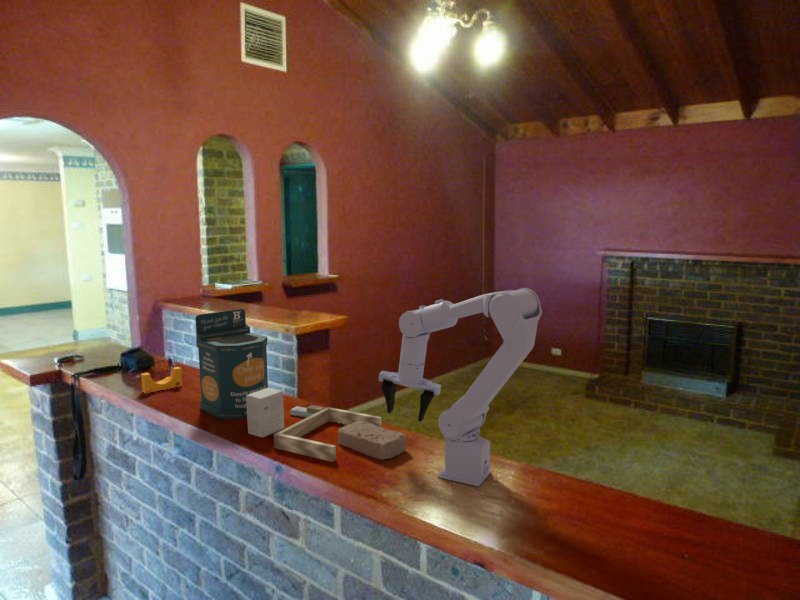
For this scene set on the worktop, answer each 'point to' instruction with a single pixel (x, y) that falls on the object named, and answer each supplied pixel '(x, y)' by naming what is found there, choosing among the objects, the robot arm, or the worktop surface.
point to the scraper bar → (305, 411)
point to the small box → (265, 412)
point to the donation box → (229, 363)
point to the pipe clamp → (162, 381)
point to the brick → (372, 440)
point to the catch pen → (291, 434)
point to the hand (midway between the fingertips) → (405, 415)
